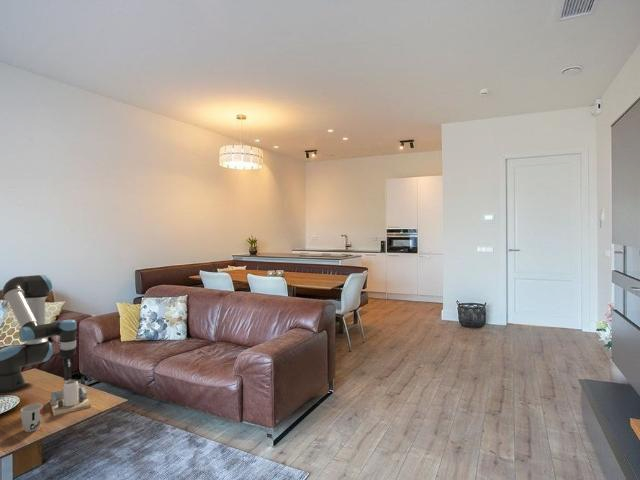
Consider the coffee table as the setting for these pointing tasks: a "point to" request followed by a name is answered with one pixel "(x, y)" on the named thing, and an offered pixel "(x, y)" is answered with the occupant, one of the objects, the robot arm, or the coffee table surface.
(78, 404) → the base plate
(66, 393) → the can
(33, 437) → the coffee table surface
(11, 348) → the robot arm
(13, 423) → the coffee table surface
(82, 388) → the grey frame
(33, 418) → the cup
